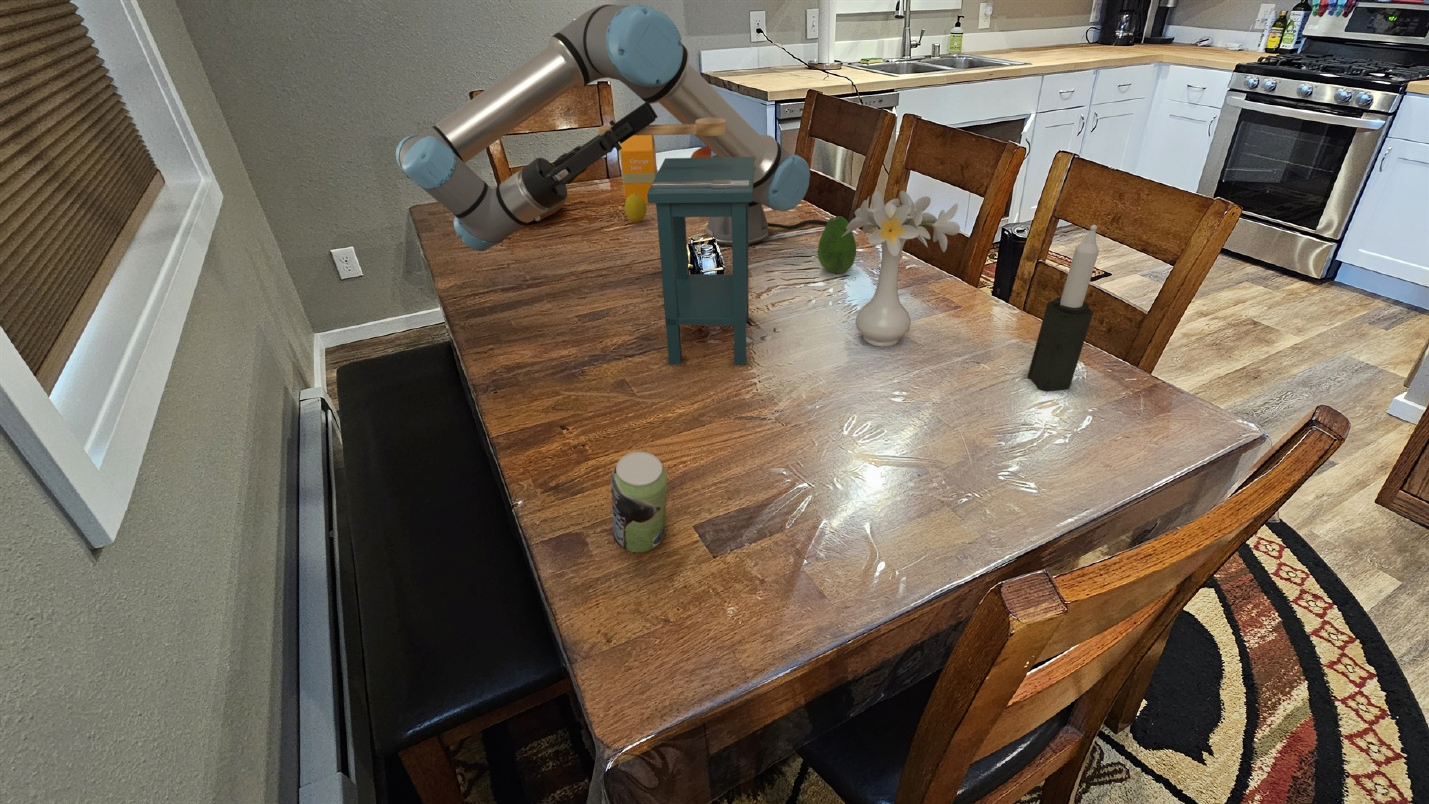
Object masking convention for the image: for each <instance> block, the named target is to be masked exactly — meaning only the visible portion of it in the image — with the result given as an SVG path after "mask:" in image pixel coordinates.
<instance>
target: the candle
mask: <svg viewBox="0 0 1429 804" xmlns="http://www.w3.org/2000/svg"><path fill="white" fill-rule="evenodd" d="M1097 229H1098V226H1097V225H1096V224H1092V225H1090V227H1089V231H1088V232H1087V234H1086V236H1085V237H1084V239H1083V240H1082V241H1081V242H1080V243H1079V244H1077V246H1076V247H1075V249H1074V252H1073V255H1072V259H1071V261H1070V262H1071V263H1070V265H1069V266H1070V267H1069V270H1068V273H1067V277H1066V280H1065V283H1064V287H1063V290H1062V294H1061V296H1059V297H1056V298H1055V299H1054V300H1050V301H1047V303H1046V307H1045V311H1044V314H1043V318H1042V322H1041V325H1040V329H1039V333H1038V337H1037V341H1036V343H1035V347H1034V351H1033V355H1032V358H1031V362H1030V366H1029V369H1028V373H1027V379H1028V380H1030V381H1031V382H1032V383H1033V384H1034V385H1035V386H1036V388H1037V390H1040V391H1042V392H1054V391H1066V390H1069V389H1070V387H1071V385H1072V381H1073V378H1074V376H1075V373H1076V370H1077V365H1078V363H1079V359H1080V356H1081V353H1082V350H1083V347H1084V345H1085V344H1084V343H1085V340H1086V339H1087V334H1088V331H1089V328H1090V325H1091V322H1092V318H1093V316H1094V311H1093V310H1092V308H1091V309H1090V308H1089V307H1090V304H1089V303H1087V302H1086V300H1085V298H1086V296H1087V292H1088V289H1089V285H1090V282H1091V280H1092V279H1091V278H1092V275H1093V272H1094V269H1095V266H1096V263H1097V259H1098V256H1099V253H1100V249H1099V247H1098V244H1097V235H1096V234H1097V233H1096V231H1097Z"/></svg>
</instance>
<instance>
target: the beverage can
mask: <svg viewBox="0 0 1429 804" xmlns="http://www.w3.org/2000/svg"><path fill="white" fill-rule="evenodd" d="M610 486H611V487H610V488H611V489H610V490H611V492H610V493H611V518H612V519H611V520H612V523H611V525H612V537H613V539H614V541H615V543H616V544H617V545H618V546H619V547H620V548H621V549H623V550H625V551H628V552H631V553H645V552H649V551H651V550H653V549H655V548H656V547H658V546H659V545H660V544H661V542H662V541H663V539H664V537H665V531H666V530H665V529H666V514H667V513H666V510H667V493H668V492H667V491H668V473H667V471H666V468H665V467H664V465H663V464H662V462H661V460H660V459H659V458H658V457H657V456H656V455H654V454H652V453H650V452H647V451H633V452H629V453H626V454H625V455H624V456H622V457H620V458H619V460H618V461H617V463H616V464H615V466H614V468H613V469H612V472H611V476H610Z"/></svg>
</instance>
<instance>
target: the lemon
mask: <svg viewBox="0 0 1429 804" xmlns="http://www.w3.org/2000/svg"><path fill="white" fill-rule="evenodd" d="M647 211H648V210H647V204H645V201H644V199H643V198H642V197H641V196H640V195H638V194H636V193H633V194H632V195H630V196H629V197H628V198H627V199H625V202H624V213H625V216H626V218H627V219H628V220H629V221H630V222H633V223H634V224H636V225H638V224H639V223H640V222H642V221H644V219H645V218H646V216H647Z"/></svg>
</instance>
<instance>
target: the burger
mask: <svg viewBox="0 0 1429 804" xmlns="http://www.w3.org/2000/svg"><path fill="white" fill-rule="evenodd" d="M690 158H711V149H710V148H709V147H707V146H706V145H705V146H702V147H700V148H697V149H696V150H695V151H694V152H692V154H691V156H690Z"/></svg>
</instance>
